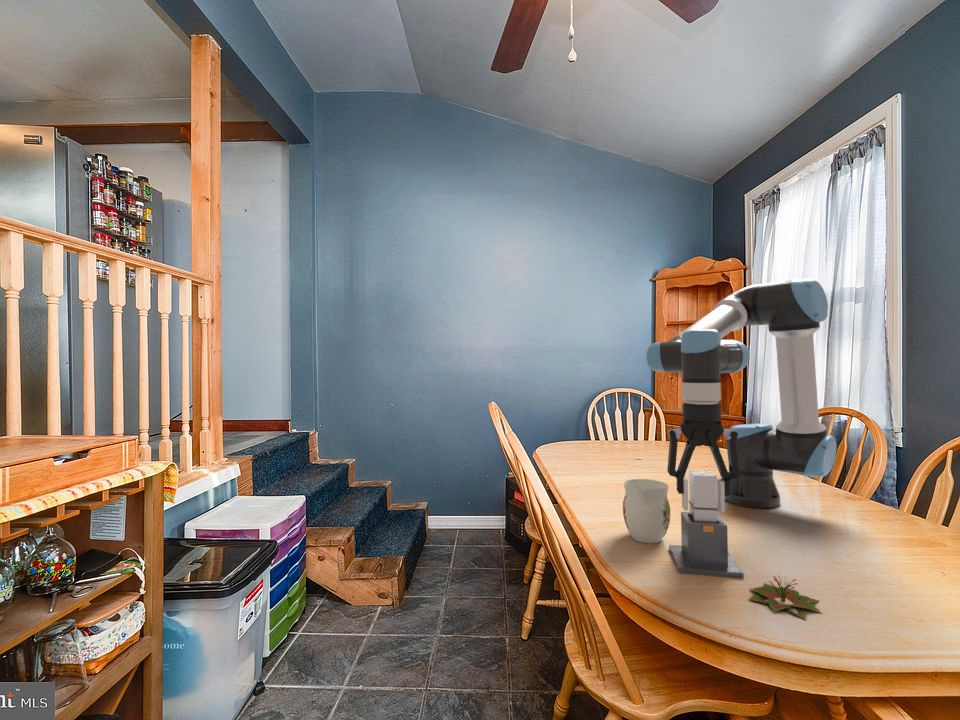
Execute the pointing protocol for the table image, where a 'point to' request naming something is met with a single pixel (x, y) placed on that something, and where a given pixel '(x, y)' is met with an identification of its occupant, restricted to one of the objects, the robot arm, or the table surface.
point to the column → (703, 496)
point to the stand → (704, 549)
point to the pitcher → (646, 509)
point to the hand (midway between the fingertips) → (702, 509)
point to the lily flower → (784, 592)
